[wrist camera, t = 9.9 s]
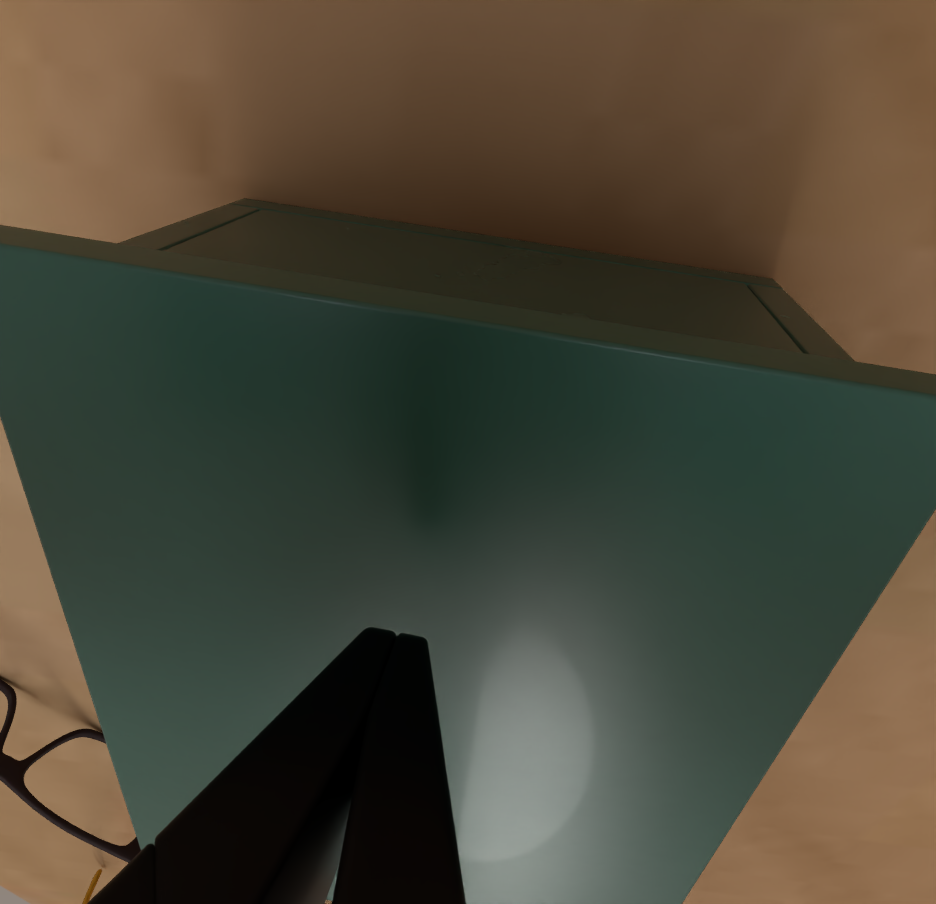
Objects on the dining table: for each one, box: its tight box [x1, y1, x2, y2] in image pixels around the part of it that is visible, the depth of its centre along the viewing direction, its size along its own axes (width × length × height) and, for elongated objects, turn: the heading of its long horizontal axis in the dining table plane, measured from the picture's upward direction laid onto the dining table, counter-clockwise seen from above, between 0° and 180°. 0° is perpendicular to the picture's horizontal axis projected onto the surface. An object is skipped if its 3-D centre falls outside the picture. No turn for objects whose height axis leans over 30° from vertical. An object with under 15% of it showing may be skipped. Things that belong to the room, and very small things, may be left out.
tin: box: [117, 198, 855, 362], centre depth 15 cm, size 15×13×7 cm
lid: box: [0, 225, 936, 904], centre depth 12 cm, size 15×13×1 cm
